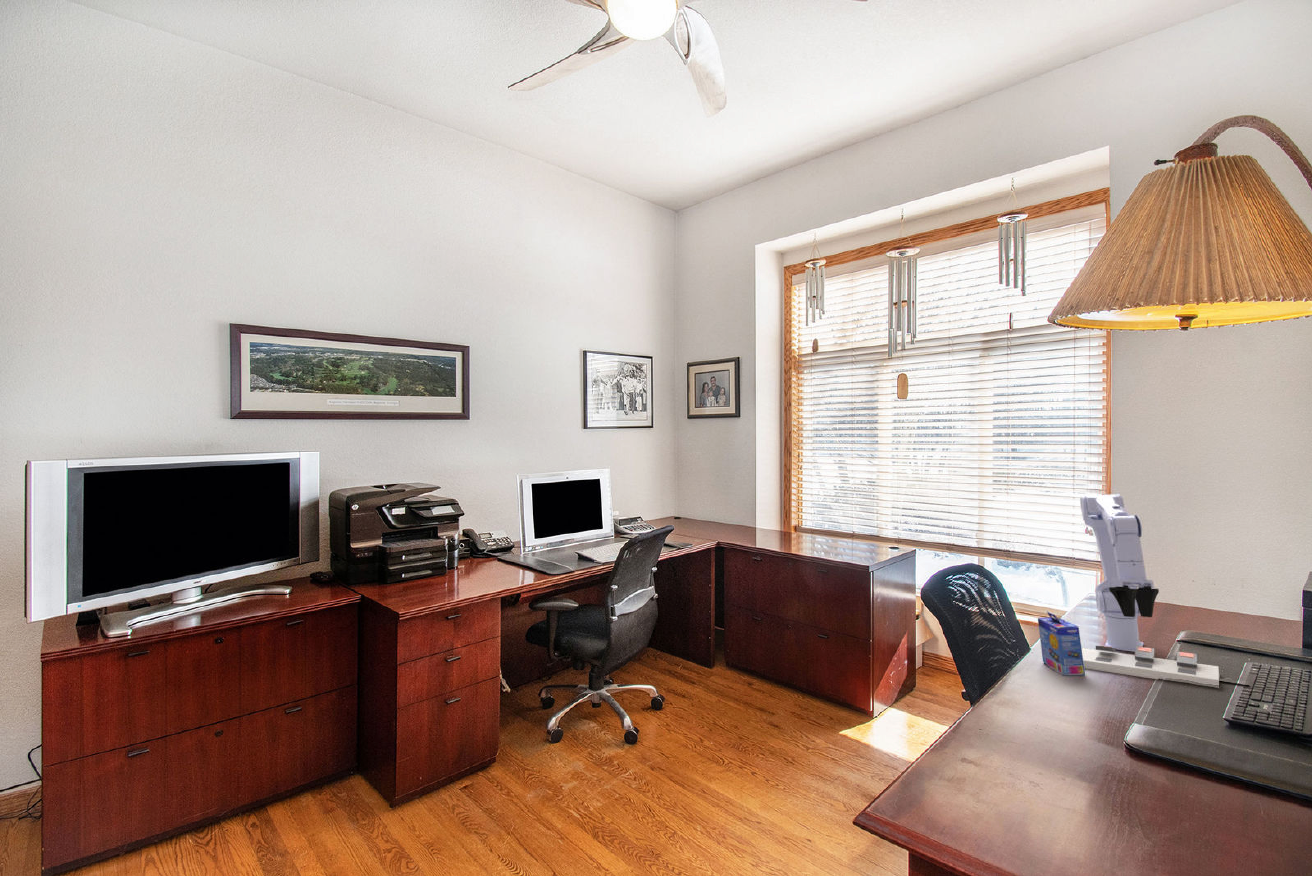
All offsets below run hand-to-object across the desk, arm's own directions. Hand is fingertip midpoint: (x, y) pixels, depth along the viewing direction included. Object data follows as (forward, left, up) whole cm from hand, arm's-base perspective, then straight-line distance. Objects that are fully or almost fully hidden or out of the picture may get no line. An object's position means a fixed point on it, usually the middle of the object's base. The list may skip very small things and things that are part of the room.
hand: (1138, 616), depth 147 cm
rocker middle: (-3, 0, -11) cm, 11 cm away
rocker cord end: (-3, +8, -11) cm, 14 cm away
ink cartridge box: (+8, -16, -14) cm, 23 cm away
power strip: (-1, +3, -14) cm, 14 cm away
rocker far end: (-3, -8, -11) cm, 13 cm away
